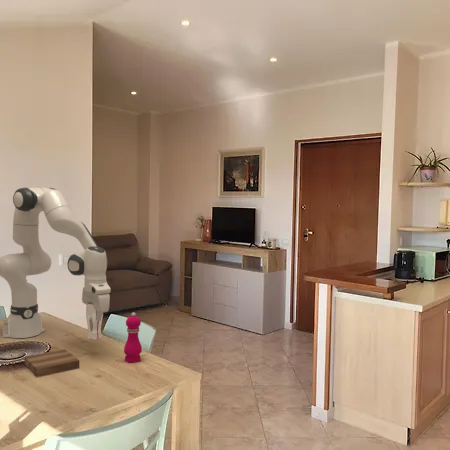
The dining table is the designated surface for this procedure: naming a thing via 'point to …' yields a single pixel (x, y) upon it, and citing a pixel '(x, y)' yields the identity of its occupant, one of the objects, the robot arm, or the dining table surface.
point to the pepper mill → (132, 339)
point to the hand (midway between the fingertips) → (94, 317)
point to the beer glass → (93, 323)
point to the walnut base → (51, 362)
